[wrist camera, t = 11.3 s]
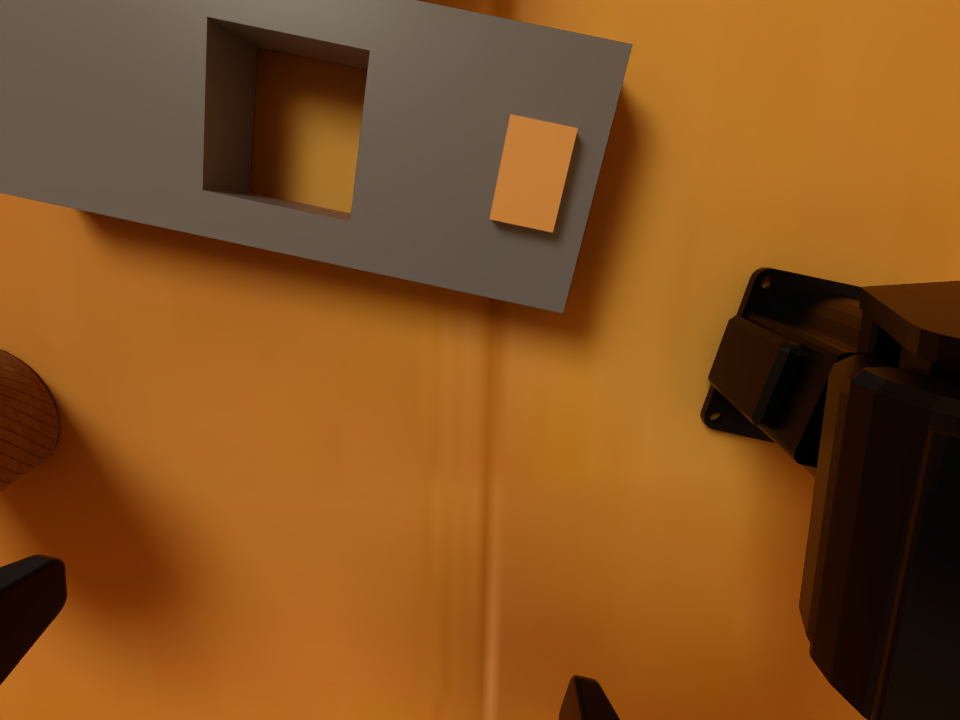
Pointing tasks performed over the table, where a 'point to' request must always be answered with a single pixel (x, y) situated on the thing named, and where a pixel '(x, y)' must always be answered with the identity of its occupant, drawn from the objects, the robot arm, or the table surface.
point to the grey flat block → (383, 138)
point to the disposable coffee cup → (23, 420)
